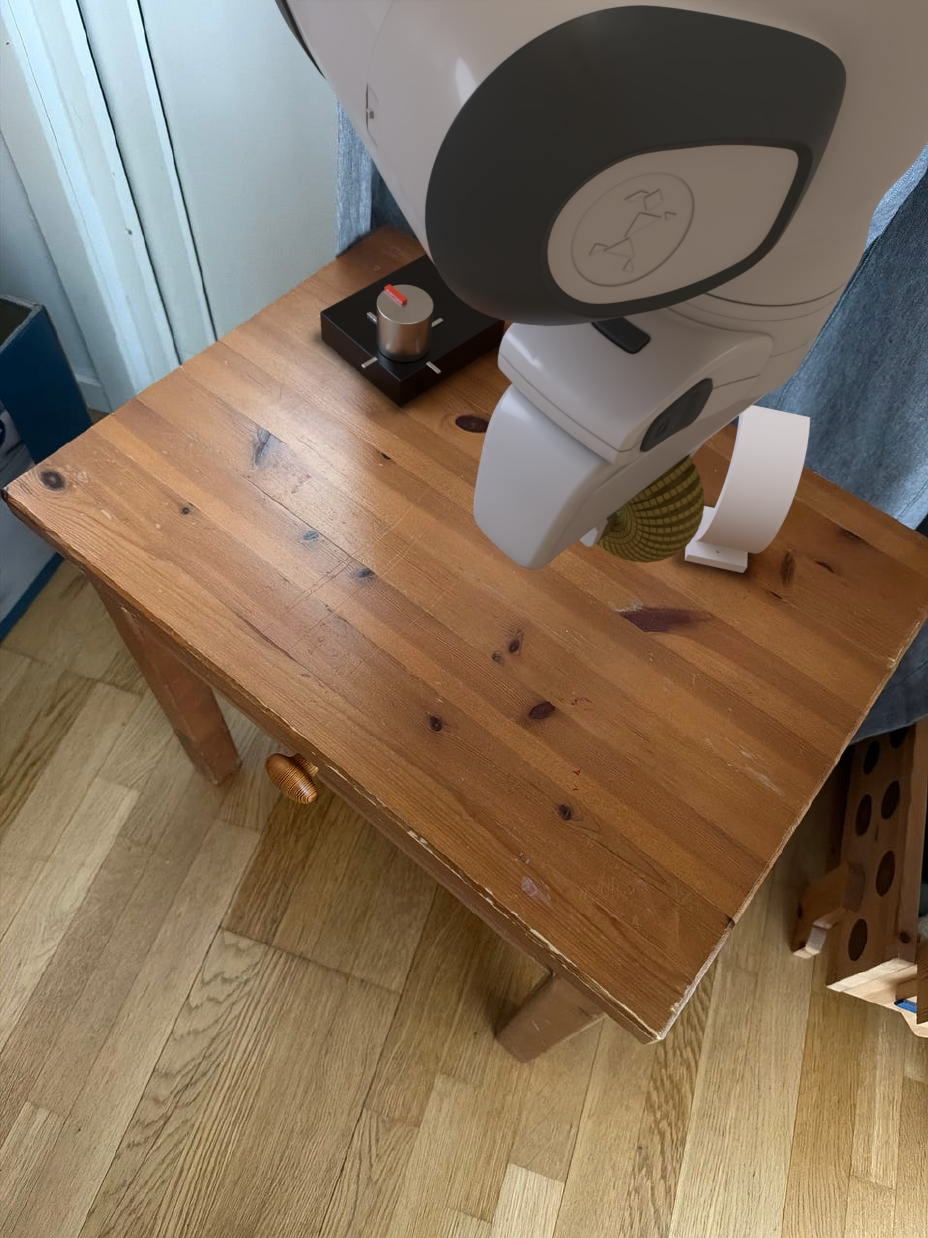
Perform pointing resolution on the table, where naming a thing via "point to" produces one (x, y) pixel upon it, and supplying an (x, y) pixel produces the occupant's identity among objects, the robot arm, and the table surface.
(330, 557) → the table surface
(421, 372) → the panel
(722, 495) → the headphone stand
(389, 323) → the dial
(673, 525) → the sculpture
